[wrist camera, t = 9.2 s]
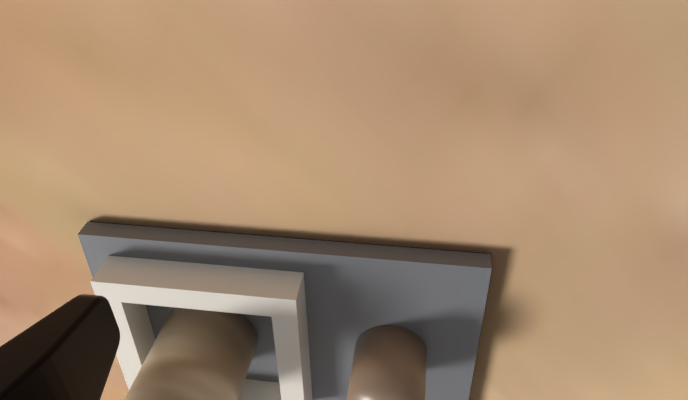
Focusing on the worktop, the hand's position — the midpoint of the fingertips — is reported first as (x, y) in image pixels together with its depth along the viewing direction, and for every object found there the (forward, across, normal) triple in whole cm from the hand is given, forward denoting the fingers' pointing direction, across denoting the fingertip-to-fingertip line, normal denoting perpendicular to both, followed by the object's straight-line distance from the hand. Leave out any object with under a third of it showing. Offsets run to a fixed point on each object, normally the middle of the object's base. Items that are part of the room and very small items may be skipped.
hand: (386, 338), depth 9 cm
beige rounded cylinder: (+10, +9, +13) cm, 19 cm away
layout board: (+11, +5, +13) cm, 18 cm away
